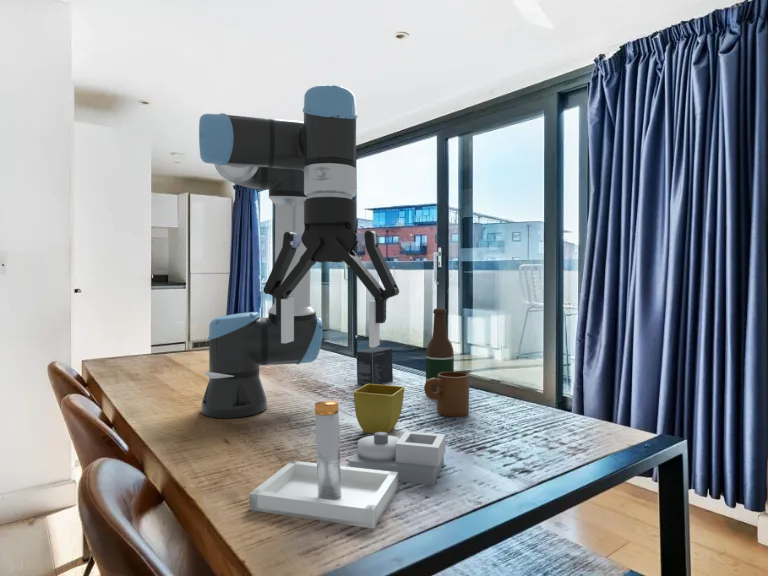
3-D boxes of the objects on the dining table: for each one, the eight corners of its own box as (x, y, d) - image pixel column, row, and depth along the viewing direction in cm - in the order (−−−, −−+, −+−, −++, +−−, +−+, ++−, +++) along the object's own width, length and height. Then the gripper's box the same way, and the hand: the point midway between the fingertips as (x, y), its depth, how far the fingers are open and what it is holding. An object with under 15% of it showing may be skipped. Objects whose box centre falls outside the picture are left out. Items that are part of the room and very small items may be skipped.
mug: (434, 422, 112) (434, 380, 112) (415, 414, 119) (415, 375, 119) (475, 415, 119) (475, 375, 118) (455, 407, 125) (455, 370, 125)
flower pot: (405, 427, 109) (405, 386, 109) (392, 439, 101) (392, 395, 100) (367, 423, 112) (367, 383, 111) (352, 435, 103) (352, 391, 103)
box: (376, 379, 161) (376, 346, 160) (393, 381, 157) (393, 348, 157) (355, 385, 152) (355, 350, 152) (373, 387, 148) (373, 352, 148)
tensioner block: (348, 475, 82) (348, 441, 82) (367, 455, 92) (367, 424, 92) (436, 485, 78) (436, 449, 78) (446, 463, 88) (446, 430, 88)
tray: (249, 511, 70) (249, 493, 70) (291, 475, 82) (291, 460, 82) (373, 529, 65) (373, 509, 65) (398, 488, 77) (398, 472, 77)
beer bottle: (423, 392, 141) (423, 307, 141) (450, 392, 142) (450, 307, 142) (428, 399, 134) (428, 309, 133) (456, 398, 134) (457, 309, 134)
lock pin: (314, 499, 72) (310, 405, 72) (323, 490, 75) (320, 400, 75) (336, 500, 71) (332, 405, 71) (344, 491, 74) (341, 401, 74)
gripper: (239, 197, 72) (240, 343, 73) (408, 191, 66) (407, 352, 67) (265, 204, 80) (265, 337, 80) (419, 199, 73) (418, 344, 74)
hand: (329, 344), depth 73 cm, fingers open, 13 cm apart
